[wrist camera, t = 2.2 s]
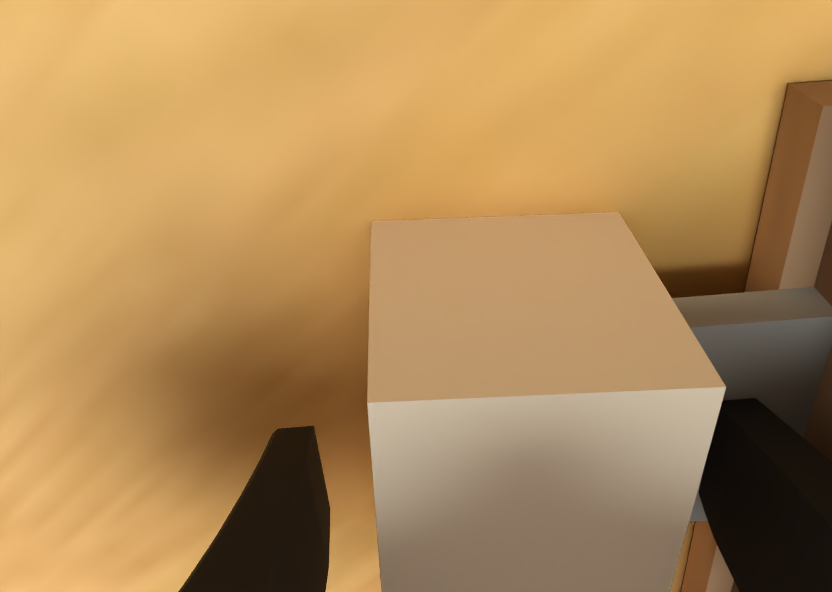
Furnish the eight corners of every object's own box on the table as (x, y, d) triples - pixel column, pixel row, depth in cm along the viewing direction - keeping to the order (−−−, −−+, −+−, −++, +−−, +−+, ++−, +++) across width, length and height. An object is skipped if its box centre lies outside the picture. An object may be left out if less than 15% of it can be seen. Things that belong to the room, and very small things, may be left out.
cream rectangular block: (572, 516, 16) (631, 730, 12) (389, 525, 16) (393, 743, 12) (616, 207, 12) (726, 387, 8) (370, 216, 12) (366, 403, 8)
